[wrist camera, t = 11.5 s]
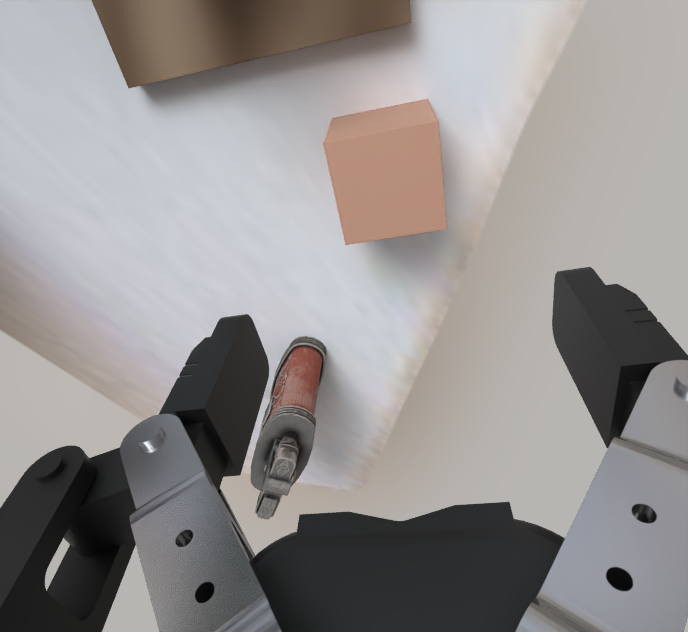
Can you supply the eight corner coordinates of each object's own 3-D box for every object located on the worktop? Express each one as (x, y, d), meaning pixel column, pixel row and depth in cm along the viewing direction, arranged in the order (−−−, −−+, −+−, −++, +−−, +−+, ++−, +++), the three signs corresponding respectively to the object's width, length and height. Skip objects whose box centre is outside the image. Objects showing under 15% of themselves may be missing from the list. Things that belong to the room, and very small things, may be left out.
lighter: (289, 330, 33) (260, 443, 24) (335, 344, 33) (321, 459, 25) (264, 405, 37) (232, 522, 29) (304, 416, 38) (284, 534, 29)
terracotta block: (350, 206, 27) (345, 244, 23) (332, 117, 24) (323, 143, 20) (436, 192, 26) (446, 229, 22) (427, 98, 24) (438, 121, 20)
